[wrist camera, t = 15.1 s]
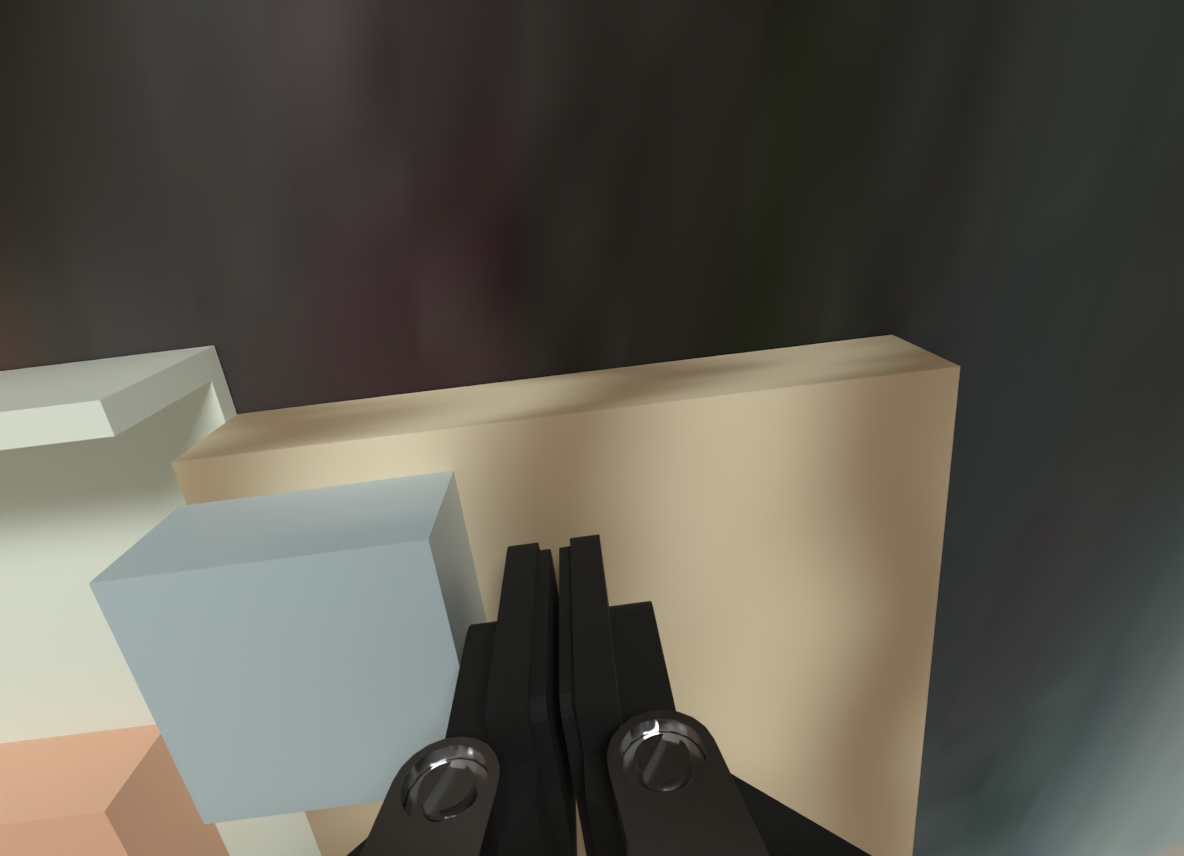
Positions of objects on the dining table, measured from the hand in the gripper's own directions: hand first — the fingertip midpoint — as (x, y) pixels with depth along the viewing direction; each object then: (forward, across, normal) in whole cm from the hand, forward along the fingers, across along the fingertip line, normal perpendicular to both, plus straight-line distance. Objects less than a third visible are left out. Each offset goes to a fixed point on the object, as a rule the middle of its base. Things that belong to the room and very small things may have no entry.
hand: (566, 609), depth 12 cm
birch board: (+4, 0, +3) cm, 5 cm away
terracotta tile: (+2, +13, +6) cm, 15 cm away
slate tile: (0, +4, 0) cm, 4 cm away
